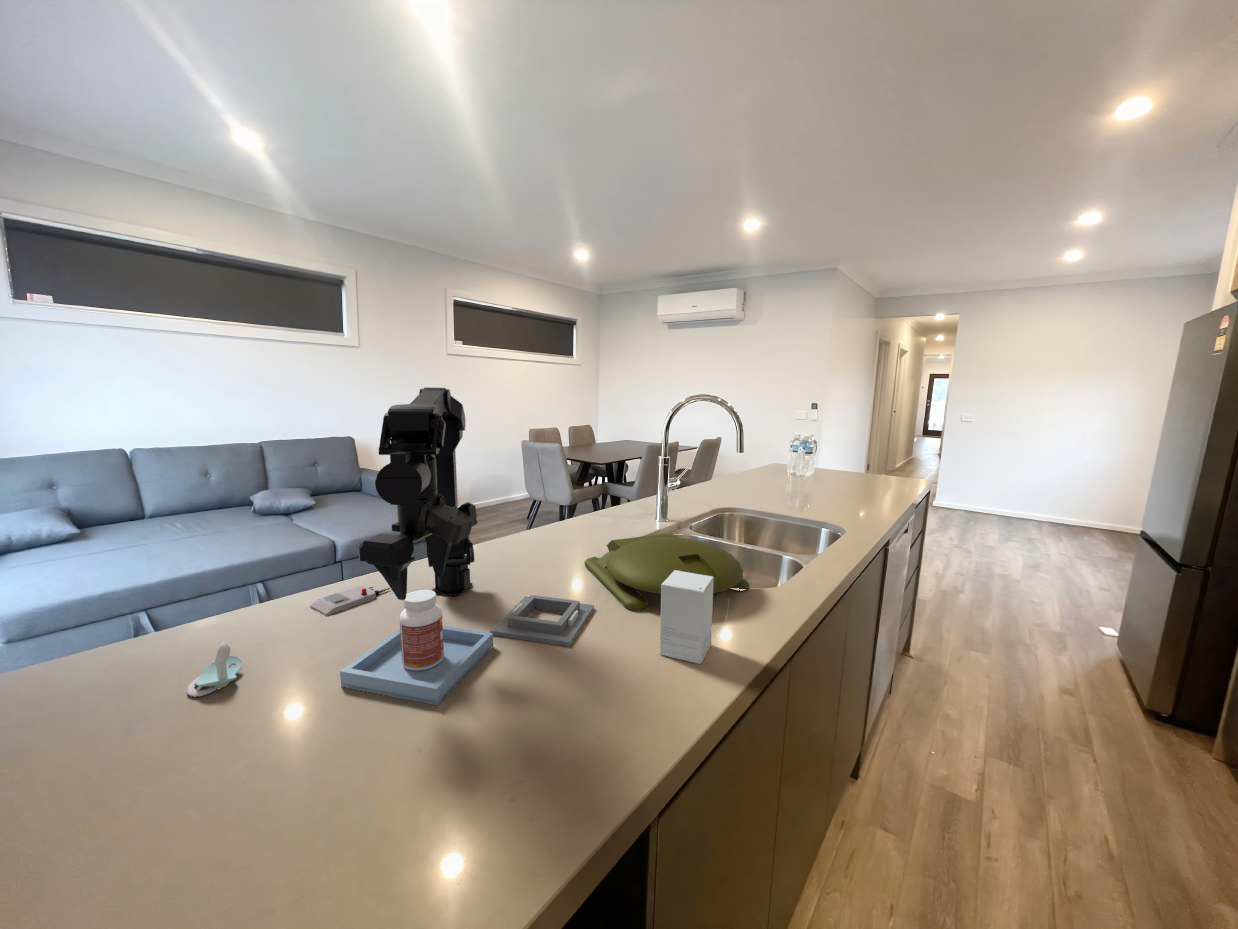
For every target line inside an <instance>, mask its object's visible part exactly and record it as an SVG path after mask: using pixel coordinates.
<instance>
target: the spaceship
mask: <svg viewBox="0 0 1238 929" xmlns="http://www.w3.org/2000/svg"><path fill="white" fill-rule="evenodd" d="M606 547H607V550H608V552H607V553H605V554H603V556H601V557H597V556H595V557H594V556H592V557H588V558H587V559H586V560H584V562H583V564H584V566H585V568H586V569H588V571H590V573H592V575H594V577H595V578H596V579H597V580H598V581H599V582H600V583H602V585H603V586H604V587H605V588H606V589H607V590H608V591H609V592H610V593H611V595H613V596H614V597H615V598H616V600H618V601H619V602H620V604H621V605H623V606H624V607H625V608H626V609H627V610H631V611H641V610H644V609H645V608H646V607H647V606H648V602H649V601H648V600H647V598H646V597H645V596H644V595H642V594H641V592H640V591H643V592H649V593H653V594H659V595H661V584H662V583H663V582H664V581H665V580H666V579H667V578H668V577H669V576H670V575H671V574H672V572H673V571H674V570H677V571H683V572H688V573H694V574H700V575H706V576H713V577H714V581H713V594H716V593H721V592H724V591H726V590H730V588H739V589H747V590H749V588H750V583H749V582H748V581H747V580H746V579H744V578H743V577H744V570H743V569H744V568H742V565H741V563H740V561H739V560H738V559H737V558H736V557H735V556H734V555H732V554H731V553H730V552H729V551H727V550H725V549H723V548H721V547H718V546H716V545H714V544H712V543H708V542H705V541H702V540H697V539H694V538H693V539H692V538H687V537H686V538H685V537H680V536H677V535H676V534H675V533H661V534H654V535H644V536H637V537H625V538H619V539H612V540H610V541H609V542H608V543H607V544H606ZM638 590H639V591H638ZM738 592H741V591H740V590H739V591H738Z"/></svg>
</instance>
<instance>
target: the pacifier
mask: <svg viewBox="0 0 1238 929" xmlns="http://www.w3.org/2000/svg"><path fill="white" fill-rule="evenodd" d="M216 652H217V653H216V655H215V660H214V662H213V663H211V664H209V666H207V667H206V668H205V669H204V670H203V672H202V673H201V674H200V675H199V676H198V677H196V678H195V679H194V680H192V681H191V682H190V684H189V685H188V686H187V689H186V693H187V695H188V696H189V697H192V696H193V698H197V696H198V697H202V696H203V697H204V696H205V695H208V694H209V695H210V694H211V693H213V692H214V691H217V690H216V689H218V688H221V687H223V686H225V685H227V684H228V683H229V682H230V681H231V682H232V681H235V680H236V679H237V678H238V676H237V674H238V673H239V672H240V671H241V669H242V667H243V666H242V665H243V662H242V660H241V658H239V657H238V656H234V655H231V647H230V645H229V643H227V642H225V641H224V642H221V643H220V644H219V646H218V648H217V651H216ZM232 666H234V667H232ZM231 667H232V668H231ZM231 682H230V683H231ZM230 683H229V684H230ZM229 684H228V685H229ZM196 685H197V686H196ZM228 685H227V686H228ZM195 686H196V687H208V688H206V689H201V690H199V689H196V688H195ZM225 687H226V686H225Z"/></svg>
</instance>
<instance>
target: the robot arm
mask: <svg viewBox="0 0 1238 929" xmlns="http://www.w3.org/2000/svg"><path fill="white" fill-rule="evenodd" d="M465 414H466V413H465V410H464V405H463V404H462V403H461V402H460V401H459V400H457V399H456V398H455V397H454V396H452V394H451V391H450V388H446V387H428V386H427V387H426V386H425V387H423V388H420V389H419V394H418V395H417V396H416V397H414V399H413V400H412V401H411V402H410V403H405V404H404V403H403V404H393V405H391V406H390V407H389V408H388V410H387V413H384V415H383V418H382V419H383V420H382V427H381V433H380V439H379V447H378V455H379V456H389V463H388V464H385V465H384V466H383V467H382V468H381V469H380V470H379V471H378V473H377V474H376V478H375V482H374V485H375V490H376V492H377V494H378V496H379V497H380V498H381V499H382V500H384V501H385V502H386V503H389V504H390V505H392V506H393V505H394V506H396V510H397V512H396V513H397V522H395V523H393V524H391V532H397V533H398V532H399V535H397V534H387V533H379V534H377V535H374V536H371V537H370V538H367V539H365V540H362V542H361V543H360V544H359V545H358V554H359V557H358V558H359V561H360V562H366V564H368V565H373V566H374V568H376V570H377V571H378V572H379V573H380V574H381V576H382V577H383V579H384V580H385V581H386V583H387V585H388V586H389V588H390V589H391V590H392V592H393V594H394V595H395V597H396V599H398V600H399V601H404V600H405V599H406V595H407V594H408V593H407V592H408V568H409V566H410V565H411V564H412V563H413V562H414V560H415V559H416V557H412V555H413V553H414V551H415V548H414V544H415V543H418V542H419V541H421V540H424V541H425V544H426V555H427V556H426V557H427V561H428V562H427V564H428V567H429V568H432V569H433V573H434V586H435V587H434V588H432V589H431V590H432V591H434V592H435V593H436V595H444V596H450V597H459V596H460V595H461V594H463V593H465V591H466V590H468V589H469V588H471V587H472V586H473V582H471V569H470V568H469V566H470V565H471V564H472V563H475V550H474V544H473V542H472V541H471V537H470V536H471V531H472V528H473V527H474V526H477V524H478V520H477V518H478V516H477V509H476V505H475V504H473V503H472V502H468V501H467V502H465V503H463V504H461V505H460V506H459V505H458V504H459V501H458V500H459V499H458V479H457V477H458V476H457V458H456V456H457V455H456V449H457V447H458V445H459V444H460V442H461V440H462V439H463V434H464V431H466V415H465Z"/></svg>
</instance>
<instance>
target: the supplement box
mask: <svg viewBox="0 0 1238 929" xmlns="http://www.w3.org/2000/svg"><path fill="white" fill-rule="evenodd" d="M713 581H714V577H713V576H706V575H700V574H694V573H688V572H683V571H677V570H674V571H673V572H672V574H671V575H670V576H669V577H668V578H667V579H666V580H665V581H664V582H663V583H662V584H661V594H660V626H659V627H660V628H659V629H660V630H659V631H660V633H659V635H660V636H659V637H660V638H659V641H660V642H659V651H660V652H659V655H661V656H666V657H670V658H673V659H678V660H682V661H686V662H689V663H693V664H697V665H701V664H702V663H703V661H704V659H705V657H706V656H707V653H708V651H709V649H710V647H711V645H712V630H713V629H712V628H713V606H714V605H713V604H714V602H713V601H714V593H713Z"/></svg>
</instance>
